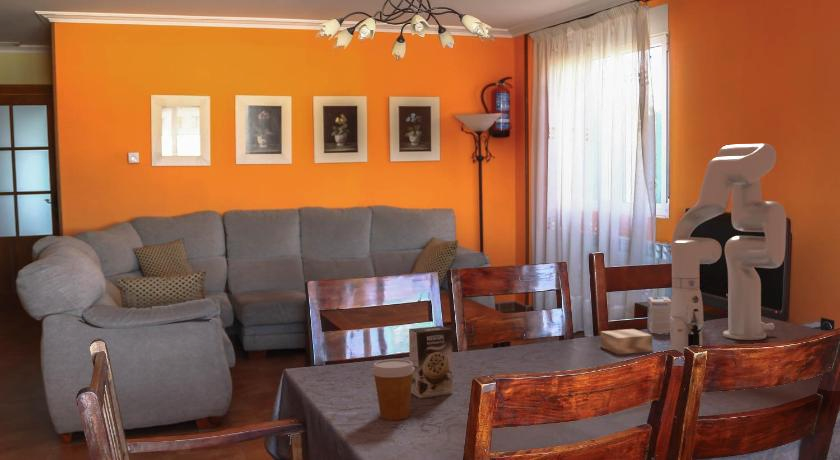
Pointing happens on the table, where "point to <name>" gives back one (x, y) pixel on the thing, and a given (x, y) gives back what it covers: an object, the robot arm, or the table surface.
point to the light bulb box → (659, 314)
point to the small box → (680, 334)
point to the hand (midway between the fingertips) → (686, 344)
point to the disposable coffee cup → (393, 387)
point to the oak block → (626, 341)
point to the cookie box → (431, 361)
